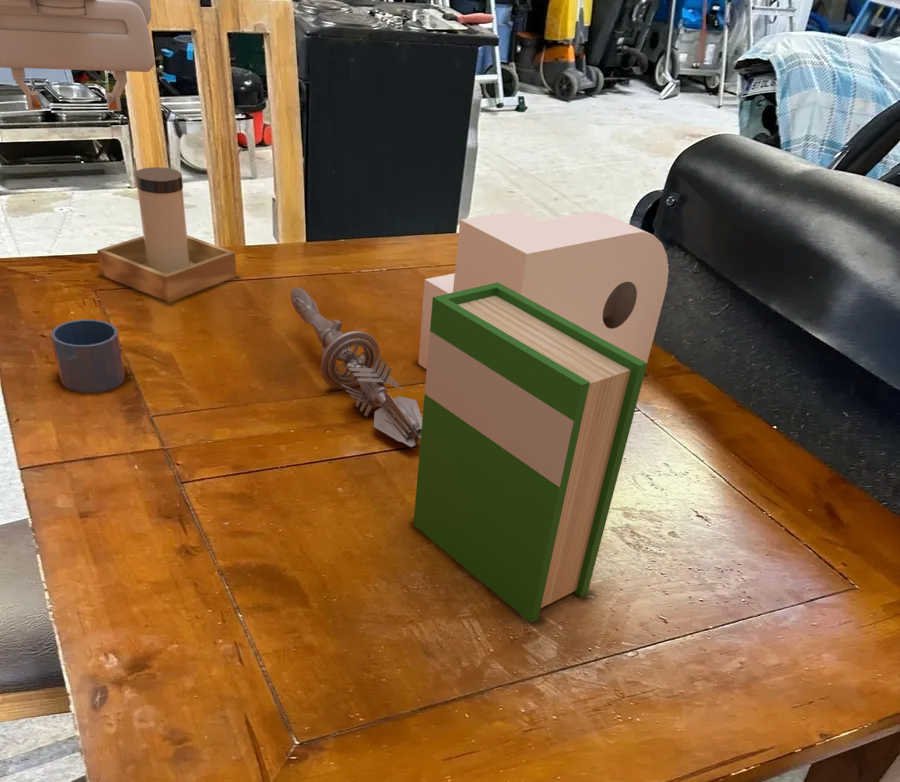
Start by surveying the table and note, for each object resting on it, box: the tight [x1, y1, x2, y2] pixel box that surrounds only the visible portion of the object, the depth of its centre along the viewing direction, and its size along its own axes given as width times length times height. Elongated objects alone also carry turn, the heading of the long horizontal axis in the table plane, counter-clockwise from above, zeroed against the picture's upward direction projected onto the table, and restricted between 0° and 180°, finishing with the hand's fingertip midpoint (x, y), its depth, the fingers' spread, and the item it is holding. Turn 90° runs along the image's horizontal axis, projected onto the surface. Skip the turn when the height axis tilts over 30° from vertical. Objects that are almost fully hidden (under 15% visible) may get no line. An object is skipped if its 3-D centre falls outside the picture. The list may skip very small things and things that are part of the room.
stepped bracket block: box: [417, 209, 670, 370], centre depth 113 cm, size 26×17×20 cm, turn 128°
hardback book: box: [412, 282, 648, 624], centre depth 80 cm, size 18×7×24 cm, turn 39°
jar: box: [134, 166, 190, 274], centre depth 126 cm, size 6×6×14 cm
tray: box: [96, 234, 237, 303], centre depth 130 cm, size 14×14×4 cm
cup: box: [50, 318, 126, 394], centre depth 104 cm, size 7×7×6 cm
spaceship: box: [290, 286, 423, 449], centre depth 108 cm, size 8×35×8 cm
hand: (75, 109), depth 111 cm, fingers open, 8 cm apart
